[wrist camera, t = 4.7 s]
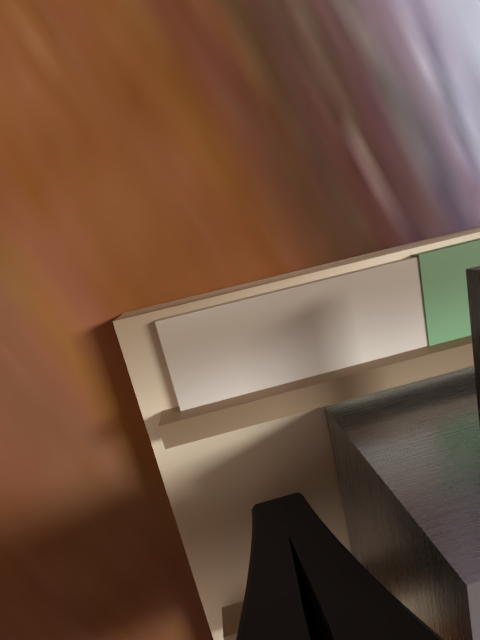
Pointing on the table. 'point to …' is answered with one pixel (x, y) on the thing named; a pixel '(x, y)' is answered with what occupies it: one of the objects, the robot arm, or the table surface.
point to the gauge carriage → (418, 488)
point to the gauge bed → (284, 388)
